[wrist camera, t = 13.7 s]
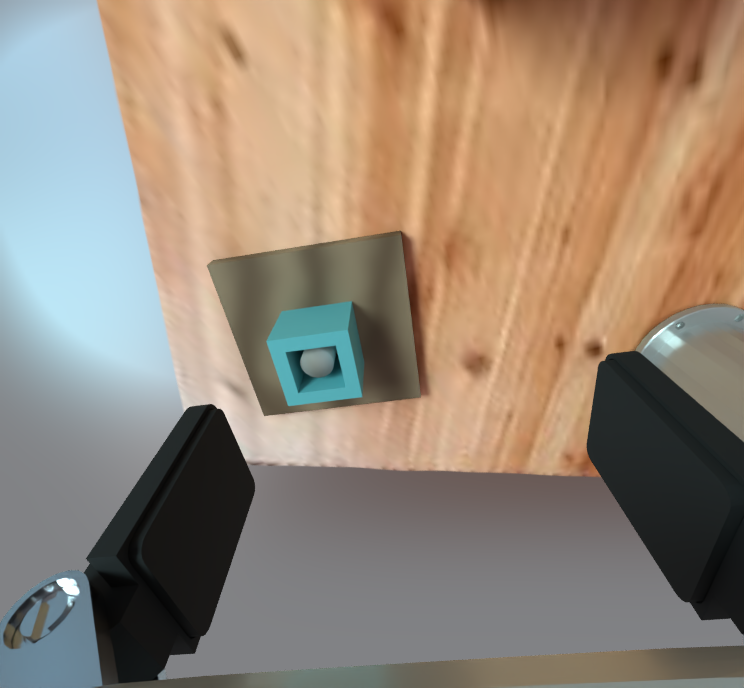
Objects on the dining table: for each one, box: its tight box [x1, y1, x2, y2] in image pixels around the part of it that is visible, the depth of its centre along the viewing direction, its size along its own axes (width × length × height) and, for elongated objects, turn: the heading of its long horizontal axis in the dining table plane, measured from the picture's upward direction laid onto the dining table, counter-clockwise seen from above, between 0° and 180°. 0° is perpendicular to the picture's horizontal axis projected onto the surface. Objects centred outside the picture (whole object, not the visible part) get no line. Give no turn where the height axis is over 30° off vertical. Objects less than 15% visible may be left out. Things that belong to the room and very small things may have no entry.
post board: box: [207, 231, 421, 416], centre depth 38 cm, size 18×18×6 cm
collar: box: [266, 301, 364, 406], centre depth 37 cm, size 7×7×6 cm
